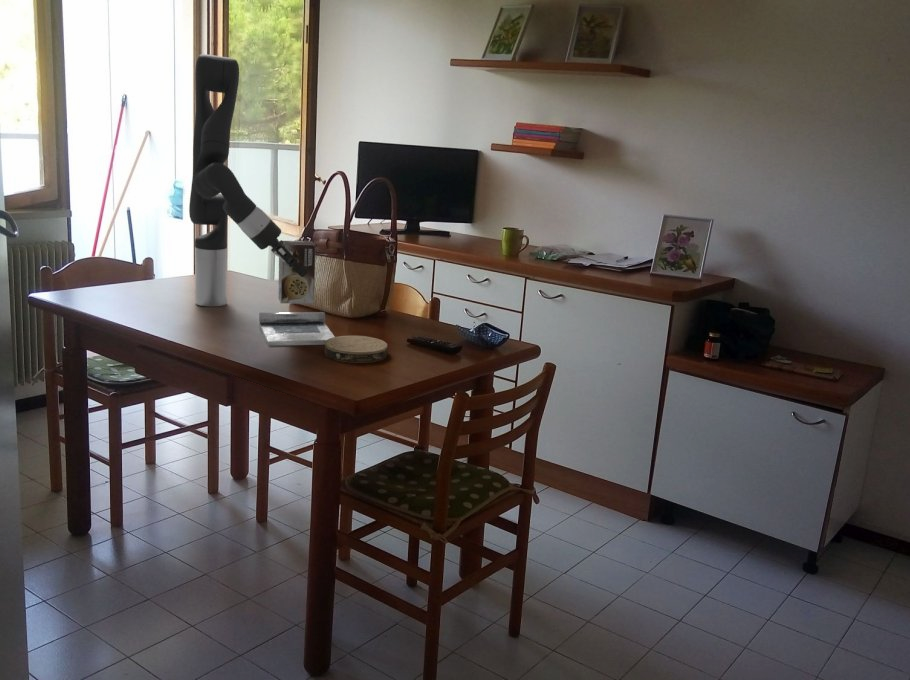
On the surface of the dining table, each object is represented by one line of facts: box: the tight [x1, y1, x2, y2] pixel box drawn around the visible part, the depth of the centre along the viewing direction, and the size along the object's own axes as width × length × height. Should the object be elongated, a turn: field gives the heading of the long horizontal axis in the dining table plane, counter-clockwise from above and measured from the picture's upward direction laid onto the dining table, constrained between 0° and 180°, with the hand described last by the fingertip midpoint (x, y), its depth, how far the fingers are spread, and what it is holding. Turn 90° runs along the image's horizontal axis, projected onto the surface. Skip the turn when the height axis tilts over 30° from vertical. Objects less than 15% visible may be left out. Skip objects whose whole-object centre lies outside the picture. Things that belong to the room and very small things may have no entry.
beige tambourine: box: [324, 335, 388, 364], centre depth 213 cm, size 16×16×3 cm
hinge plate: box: [258, 311, 336, 347], centre depth 226 cm, size 20×18×4 cm
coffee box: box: [277, 240, 316, 304], centre depth 225 cm, size 9×6×16 cm
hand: (302, 272), depth 225 cm, fingers closed on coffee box, 6 cm apart
